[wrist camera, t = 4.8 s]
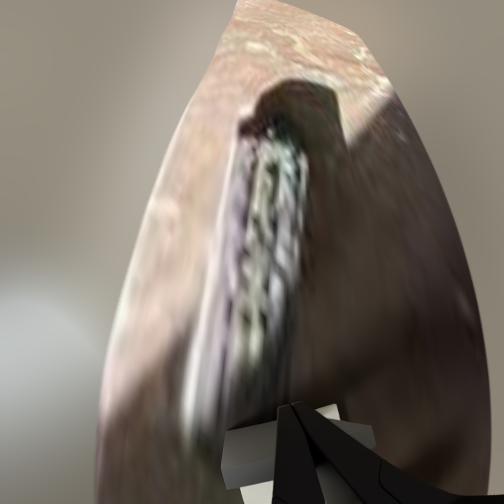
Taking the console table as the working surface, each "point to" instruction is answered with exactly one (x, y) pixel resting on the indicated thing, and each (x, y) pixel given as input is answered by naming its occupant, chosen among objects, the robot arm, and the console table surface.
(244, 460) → the white bracket
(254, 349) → the console table surface
